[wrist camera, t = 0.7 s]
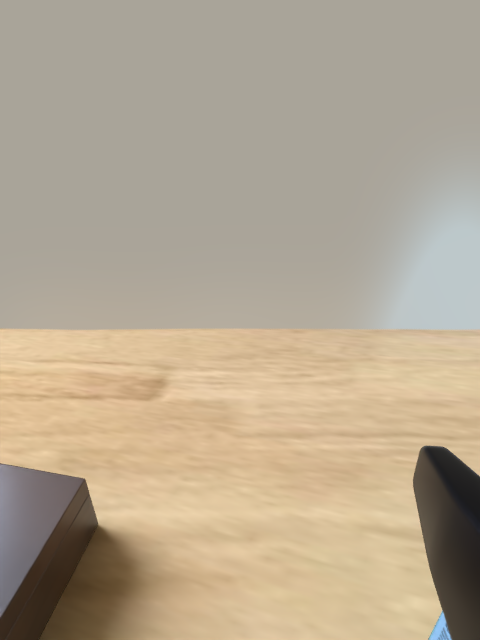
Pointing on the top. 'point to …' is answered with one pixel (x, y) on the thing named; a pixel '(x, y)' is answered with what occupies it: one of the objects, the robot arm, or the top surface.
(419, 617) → the top surface
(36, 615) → the walnut shelf
